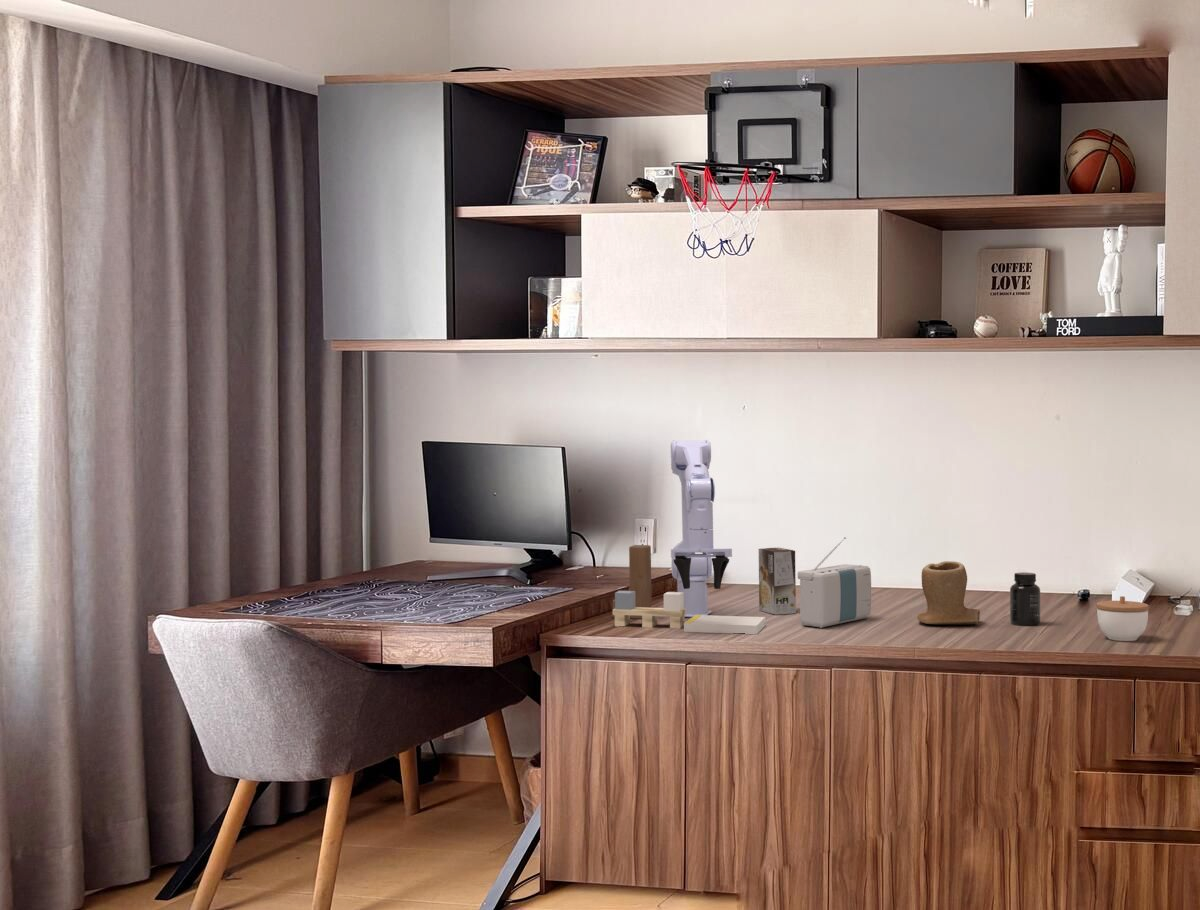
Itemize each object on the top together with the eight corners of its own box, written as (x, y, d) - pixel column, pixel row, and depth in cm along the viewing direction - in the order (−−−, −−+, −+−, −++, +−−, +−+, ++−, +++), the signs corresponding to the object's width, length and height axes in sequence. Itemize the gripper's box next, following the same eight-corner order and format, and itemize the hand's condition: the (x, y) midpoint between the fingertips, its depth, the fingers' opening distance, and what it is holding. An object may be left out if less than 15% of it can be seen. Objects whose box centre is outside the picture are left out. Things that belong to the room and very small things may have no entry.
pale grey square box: (619, 607, 324) (619, 590, 324) (635, 607, 323) (635, 591, 323) (615, 609, 320) (614, 592, 320) (631, 609, 319) (631, 593, 319)
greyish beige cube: (667, 608, 321) (667, 591, 321) (683, 609, 320) (683, 592, 320) (663, 610, 317) (663, 594, 317) (680, 611, 316) (680, 594, 316)
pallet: (618, 623, 325) (618, 606, 325) (686, 625, 320) (686, 608, 320) (612, 626, 320) (612, 609, 320) (682, 628, 315) (681, 611, 315)
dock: (695, 623, 323) (695, 614, 323) (765, 625, 318) (765, 616, 318) (684, 631, 311) (683, 622, 310) (756, 634, 306) (756, 625, 306)
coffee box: (797, 613, 336) (796, 550, 336) (774, 615, 334) (774, 551, 334) (779, 608, 345) (779, 546, 344) (757, 610, 343) (757, 548, 342)
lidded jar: (1149, 636, 297) (1149, 594, 297) (1148, 644, 287) (1148, 600, 287) (1097, 633, 301) (1097, 592, 301) (1095, 641, 291) (1095, 598, 291)
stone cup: (921, 629, 311) (921, 564, 310) (914, 621, 323) (914, 559, 322) (988, 629, 309) (987, 564, 309) (978, 621, 321) (978, 559, 321)
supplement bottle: (1038, 622, 319) (1038, 572, 318) (1041, 626, 312) (1041, 575, 312) (1008, 621, 320) (1008, 571, 320) (1011, 625, 314) (1011, 575, 313)
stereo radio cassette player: (824, 630, 311) (823, 544, 311) (795, 626, 317) (794, 542, 316) (873, 619, 326) (872, 537, 326) (844, 616, 332) (844, 535, 331)
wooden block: (612, 617, 333) (611, 546, 332) (617, 615, 337) (617, 544, 337) (646, 619, 330) (646, 546, 330) (652, 616, 334) (651, 545, 334)
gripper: (665, 530, 309) (666, 589, 308) (723, 529, 303) (724, 589, 302) (677, 530, 315) (678, 588, 314) (734, 529, 309) (736, 588, 308)
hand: (701, 588), depth 308 cm, fingers open, 7 cm apart
